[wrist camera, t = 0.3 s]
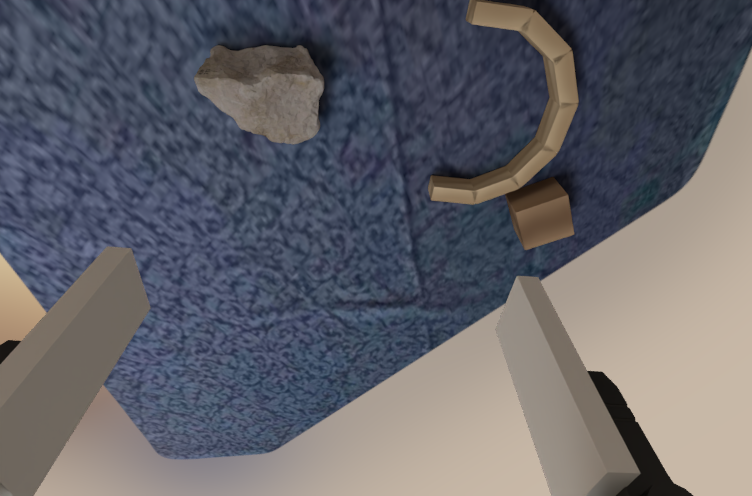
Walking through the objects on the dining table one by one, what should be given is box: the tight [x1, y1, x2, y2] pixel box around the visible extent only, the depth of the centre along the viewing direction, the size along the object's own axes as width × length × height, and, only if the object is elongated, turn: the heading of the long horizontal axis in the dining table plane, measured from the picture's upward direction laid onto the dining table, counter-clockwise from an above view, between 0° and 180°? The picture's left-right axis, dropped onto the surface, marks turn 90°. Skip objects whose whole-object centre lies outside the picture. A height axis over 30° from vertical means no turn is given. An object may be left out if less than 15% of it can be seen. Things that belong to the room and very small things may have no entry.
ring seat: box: [428, 0, 579, 204], centre depth 36 cm, size 17×11×2 cm, turn 173°
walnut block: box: [505, 177, 574, 250], centre depth 42 cm, size 5×5×4 cm
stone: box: [194, 45, 324, 145], centre depth 33 cm, size 8×10×6 cm
